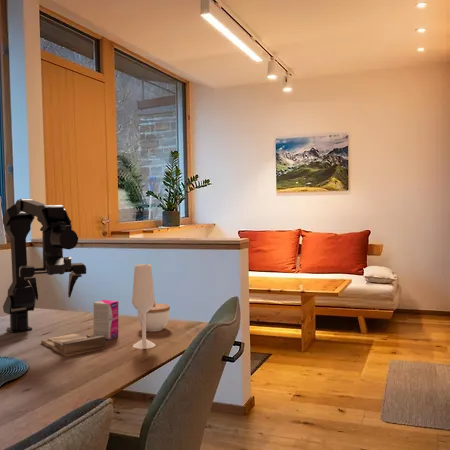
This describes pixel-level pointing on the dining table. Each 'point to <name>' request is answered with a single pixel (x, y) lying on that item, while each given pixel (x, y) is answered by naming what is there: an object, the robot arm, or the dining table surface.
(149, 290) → the champagne flute
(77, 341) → the click board
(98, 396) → the dining table surface
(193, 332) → the dining table surface
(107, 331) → the supplement box
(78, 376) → the dining table surface
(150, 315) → the lidded jar
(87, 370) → the dining table surface
